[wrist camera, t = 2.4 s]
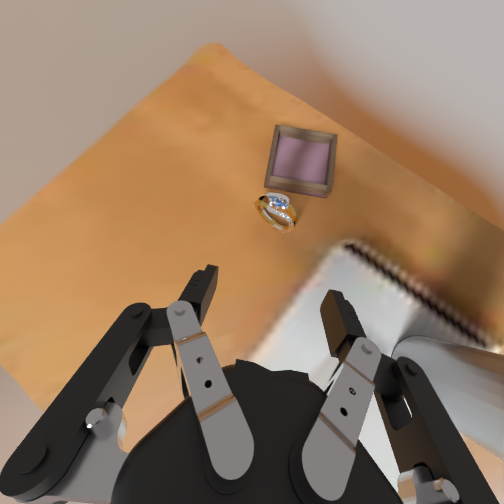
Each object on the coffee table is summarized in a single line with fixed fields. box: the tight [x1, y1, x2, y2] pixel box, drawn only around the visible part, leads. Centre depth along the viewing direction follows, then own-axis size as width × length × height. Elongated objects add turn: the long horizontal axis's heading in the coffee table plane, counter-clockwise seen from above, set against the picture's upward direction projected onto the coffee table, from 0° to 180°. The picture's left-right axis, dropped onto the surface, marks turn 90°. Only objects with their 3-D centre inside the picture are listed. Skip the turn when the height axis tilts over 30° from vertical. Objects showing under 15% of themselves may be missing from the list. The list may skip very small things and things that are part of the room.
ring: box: [254, 193, 298, 233], centre depth 29 cm, size 7×3×8 cm, turn 47°
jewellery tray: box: [264, 125, 337, 198], centre depth 34 cm, size 11×11×2 cm
